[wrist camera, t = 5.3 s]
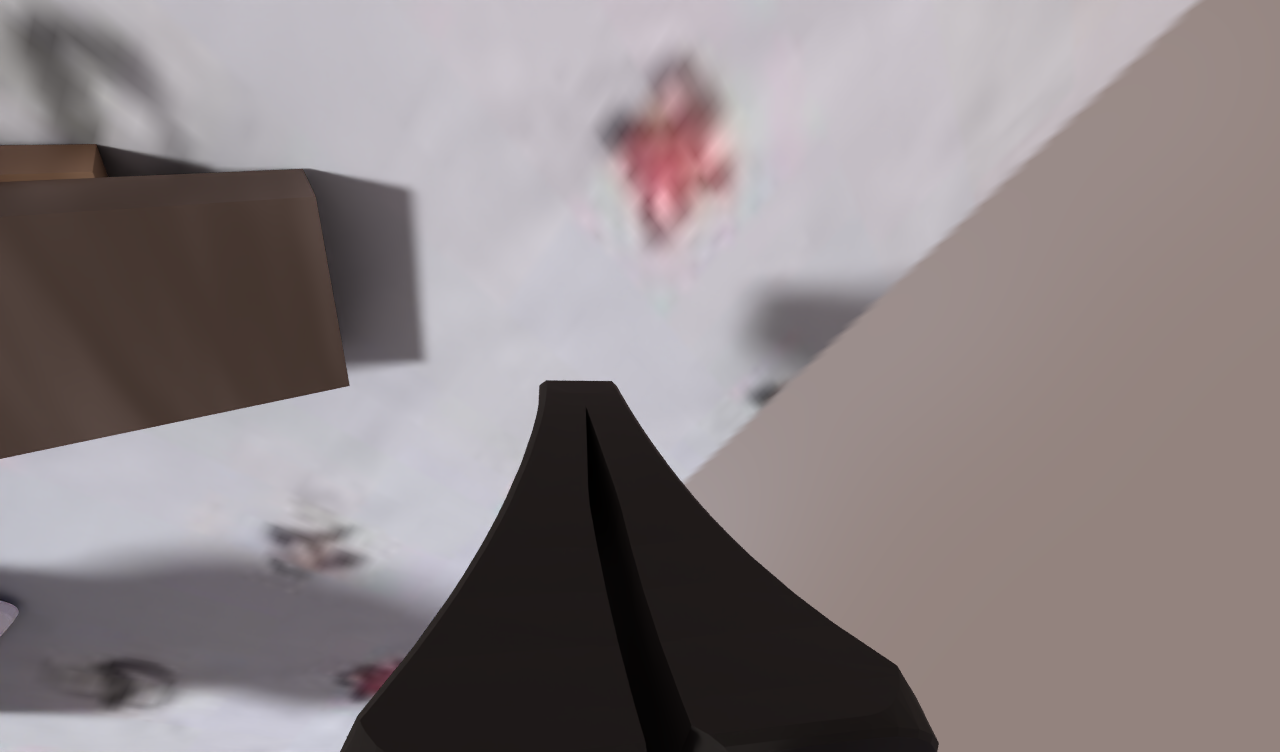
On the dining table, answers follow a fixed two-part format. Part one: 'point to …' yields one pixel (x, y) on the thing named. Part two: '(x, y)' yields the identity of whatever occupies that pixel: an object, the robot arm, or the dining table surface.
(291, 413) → the dining table surface
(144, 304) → the domino
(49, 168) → the domino
